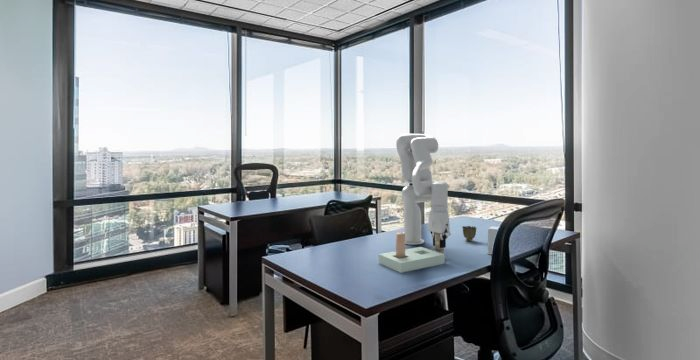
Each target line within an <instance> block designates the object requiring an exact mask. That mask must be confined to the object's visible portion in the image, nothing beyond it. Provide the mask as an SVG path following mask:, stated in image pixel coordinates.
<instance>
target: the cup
mask: <svg viewBox="0 0 700 360" xmlns="http://www.w3.org/2000/svg"><path fill="white" fill-rule="evenodd" d="M476 233H477V227H476V226H473V225H472V226H471V225H463V226H462V234H463V237H464V238H465V241H466V242H470V243H471V242H473V240H474V238H475V237H476V235H477V234H476Z"/></svg>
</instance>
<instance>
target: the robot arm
mask: <svg viewBox="0 0 700 360" xmlns="http://www.w3.org/2000/svg"><path fill="white" fill-rule="evenodd" d="M395 146H396V150H397V154H398V156H399V160H400V166H401V167H400V168H401V175H402V180H403V182H404V183H406V184H410V185H406V186H404V187H403V188H402V190H401V198H402V204H403V206H402V207H403V231H402V233H405V245H412V246H413V245H414V246H415V245H422V244H424V243H425V240H424V239H423V238H422V210H421V208H420V206H419V205H418V203H427V202H428V203H429V202H430V211H429V215H428V226H427V228H428V231H429V233H430V234H431V237H432V246H434V247H435V233H439V234H440V237H441V240H440V248H444V249H446V246H447V245H446V244H447V242H446V241H447V239H448V237H450V236H451V235H452V234H451V231H450V228H451V227H450V216H449V212H448V210H449V209H448V206H449V205H448V199H449V198H448V189H449V188H448V184H447V183H446V182H445V181H440V180H433V177H432V171H431V169H430V168H431V166H432V165H433V158H432V156H431V154H435V153H437V152H438V150H439V141H438V140H437V139H436V137H434V136H432V135H429V134H427V133H403V134H400V135H399V136H398V137H397V138H396V144H395ZM411 184H412V185H411ZM443 234H444V236H443Z"/></svg>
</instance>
